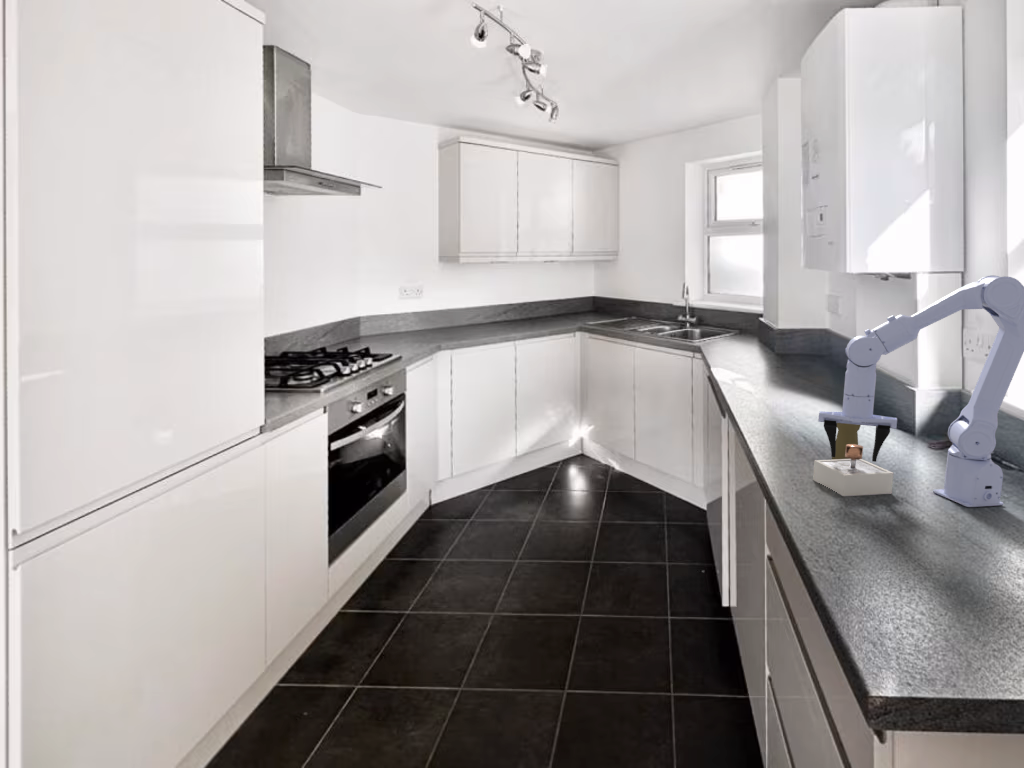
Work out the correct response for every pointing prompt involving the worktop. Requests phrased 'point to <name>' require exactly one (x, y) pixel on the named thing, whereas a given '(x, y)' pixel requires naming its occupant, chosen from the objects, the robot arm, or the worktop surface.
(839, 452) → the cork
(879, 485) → the white shallow open box
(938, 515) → the worktop surface
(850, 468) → the copper knob lid
